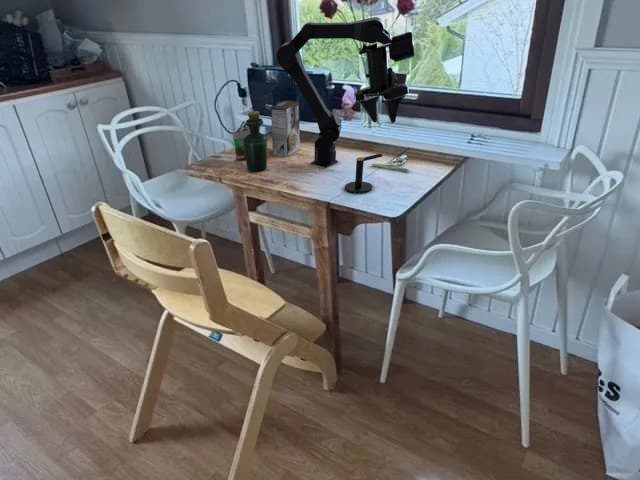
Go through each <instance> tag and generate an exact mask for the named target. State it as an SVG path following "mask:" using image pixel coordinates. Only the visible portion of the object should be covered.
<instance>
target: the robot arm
mask: <svg viewBox="0 0 640 480" xmlns="http://www.w3.org/2000/svg"><path fill="white" fill-rule="evenodd" d="M325 39H327V40H329V39H331V40H333V39H334V40H336V39H339V40H341V39H344V40H345V39H347V40H348V39H350V40H353V41H354V40H355V41H357V42H361V43H363V44H362V47H361V49H360V50H359V52H358V54H359V55H363V54H365V55H366V65H367V73H365V78H366V79H368V82H369V86H366V87H364V88H361V89H358V90H356V93H355V101H356V102H358V103H359V105H361V106H362V108H363V109H364V111H365V112H366V113H367V115H368V116H369V118H370V119H371V121H372V123H377V122H378V107H377V104H378V100H380V99H379V98H380V97H383V99H384V100H383V104H384V107H385V109H386V113H387V115H388V118H389V121H390V123H391V124H394V123H396V120H397V116H398V111H399V108H400V107H399V106H400V104H401V101H402V100H403V99H404V98H406V96H407V95H409V85H408V84H407V79H408V74H407V73H399V72H395V71H393V70H394V69H393V68H392V67H389V62H388V61H389V60H390V61H393V62H394V63H398V62H402V61H405V60H410V59H413V58H415V44H414V43H415V42H414V41H413V32H412V30H408V31H405V32H404V33H401V34H397V35H392V34H391V32H389V31H388V30H387V29H386V28H385V23H384V21H383V19H381V17H379V16H373V17H369V18H368V17H367V18H363V19H359V20H356V21H352V22H351V21H349V22H311V21H309V22H306V23H305V24H303V25H302V27H301V29H300V30H299V31H298V33H296V35H295V36H294V37H293V38H292V39H291V40H290V41H286V42H285V43H283V44H282V45H281V46H280V47H279V48H278V49H277V51H276V62H277V63H278V65H279V66H280V67H281V68H282V69H283V70H284V72H285V73H286V74H287V75H289V76H290V77H291V78H292V79H293V81H294V83H295V85H296V86H297V88H298V89H299V91H300V93H301V95H302V96H303V98H304V100H305V101H306V103H307V105H308V107H309V108H310V110H311V112H312V113H313V116H314V117H315V120H316V123H317V127H318V130H319V132H318V133H317V134H316V135H317V136H316V138H315V141H314V160H313V161H311V162H310V164H311V165H313V166H318V167H321V168H328V167H330V166H332V165H335V164H337V163H338V162H339V161H338V160H337V159H336V158H337V150H336V144H335V143H334V142H336V141H337V140H338V139H339V138H340V136H341V135H340V134H341V131H342V119H341V118H340V117H339V116H338V113H337V110H336V109H335V110H333V111H332V112H331V110H329V108H327V106H326V105H325V102H324V101H323V99H322V97H321V95H320V94H319V92H318V90H317V88H316V87H315V85H314V83H313V81H312V80H311V78H310V76H309V74H308V72H307V70H306V69H305V66H304V62H303V58H302V55H301V52H300V50H301V49H302V48H303V47H304V46H306V44H307V43H308V41H310V40H325ZM367 44H369V45H367ZM379 44H380V45H379ZM387 48H388V50H387ZM388 55H389V60H388Z"/></svg>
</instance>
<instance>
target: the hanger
mask: <svg viewBox="0 0 640 480" xmlns="http://www.w3.org/2000/svg"><path fill="white" fill-rule="evenodd" d="M407 159H408V154H407V155H406V154H402V155H401V156H399V157H398V158H394V159H393V160H392V161H390V162H389V163H388V164H386V163H372V164H371V166H372V167H376V168H382V169H383V168H384V169H390V170H394V171H395V170H396V171H400V172H401V171H403V172H409V171H410V170H409V169H408V168H405V167H402V166H401V165H404V164H405V163H406V162H407ZM396 161H398V162H400V163H395V162H396Z"/></svg>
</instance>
